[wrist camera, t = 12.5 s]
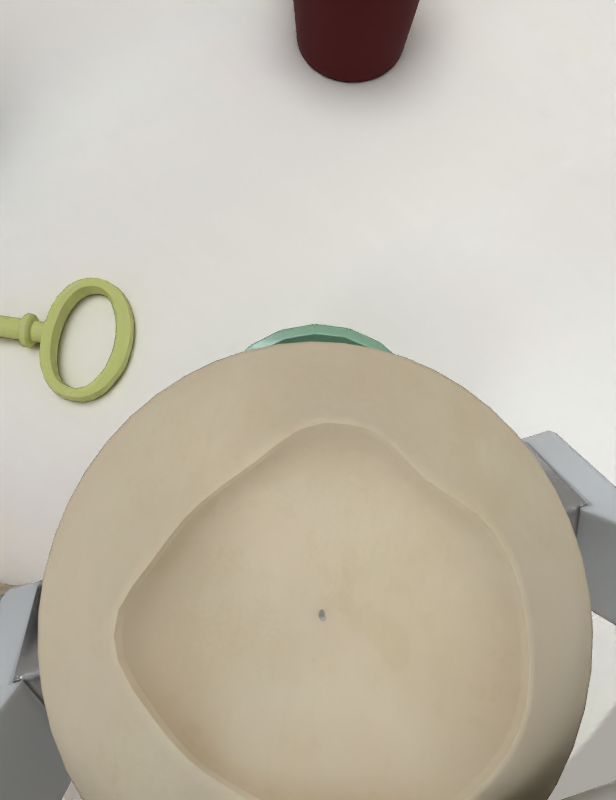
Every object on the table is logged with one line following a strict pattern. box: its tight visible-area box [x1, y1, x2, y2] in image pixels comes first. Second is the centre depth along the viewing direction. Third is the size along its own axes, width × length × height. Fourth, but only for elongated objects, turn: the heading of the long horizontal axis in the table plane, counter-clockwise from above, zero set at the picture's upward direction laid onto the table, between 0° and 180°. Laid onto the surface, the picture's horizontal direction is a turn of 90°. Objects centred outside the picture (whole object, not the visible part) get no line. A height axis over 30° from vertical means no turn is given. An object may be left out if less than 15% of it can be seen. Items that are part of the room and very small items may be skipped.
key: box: [0, 278, 134, 402], centre depth 30 cm, size 7×12×2 cm, turn 102°
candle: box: [38, 341, 593, 800], centre depth 9 cm, size 6×6×10 cm
